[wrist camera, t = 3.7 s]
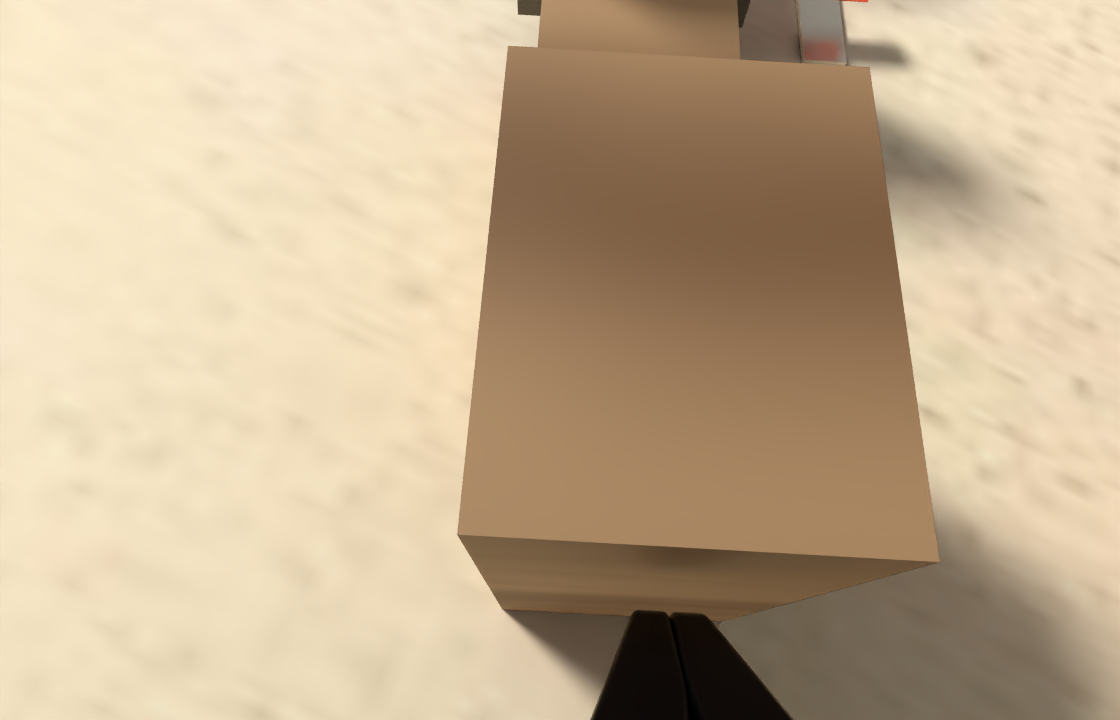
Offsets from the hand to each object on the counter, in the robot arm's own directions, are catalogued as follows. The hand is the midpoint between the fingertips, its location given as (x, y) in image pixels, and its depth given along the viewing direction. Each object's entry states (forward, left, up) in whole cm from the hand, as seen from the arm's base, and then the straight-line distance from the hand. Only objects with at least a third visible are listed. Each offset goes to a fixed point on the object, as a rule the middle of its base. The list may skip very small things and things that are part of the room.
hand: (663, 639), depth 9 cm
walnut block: (+5, -5, -7) cm, 10 cm away
